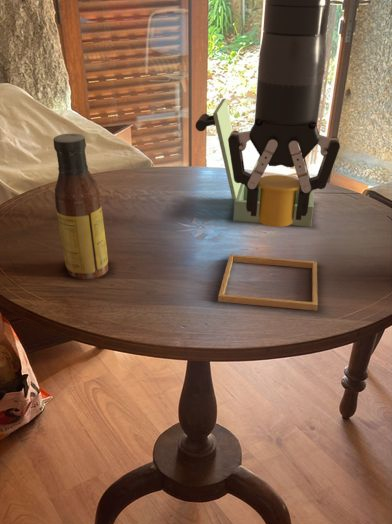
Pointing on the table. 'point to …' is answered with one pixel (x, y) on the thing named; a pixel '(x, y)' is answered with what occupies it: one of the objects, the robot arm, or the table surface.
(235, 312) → the table surface
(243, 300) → the tray
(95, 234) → the sauce bottle
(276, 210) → the cylinder
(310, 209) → the green storage bin
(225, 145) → the lid
